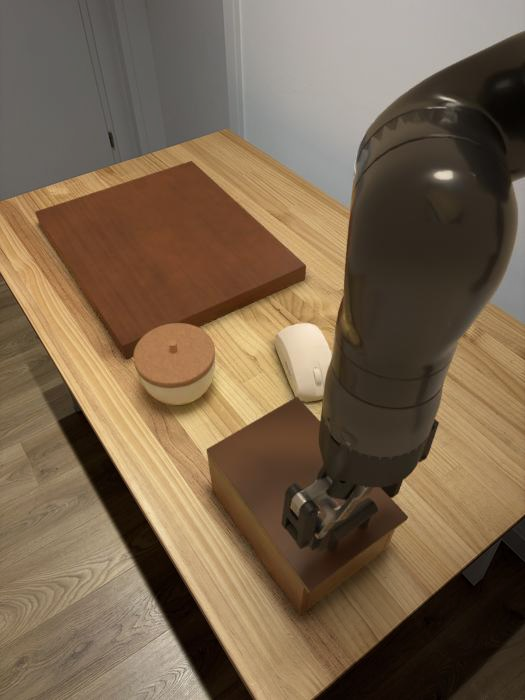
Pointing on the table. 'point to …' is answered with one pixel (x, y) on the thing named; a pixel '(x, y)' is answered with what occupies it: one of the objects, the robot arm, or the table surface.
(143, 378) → the trinket box
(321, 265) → the table surface
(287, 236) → the table surface
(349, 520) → the lid
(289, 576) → the chest
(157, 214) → the brown flat wooden slab
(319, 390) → the computer mouse
